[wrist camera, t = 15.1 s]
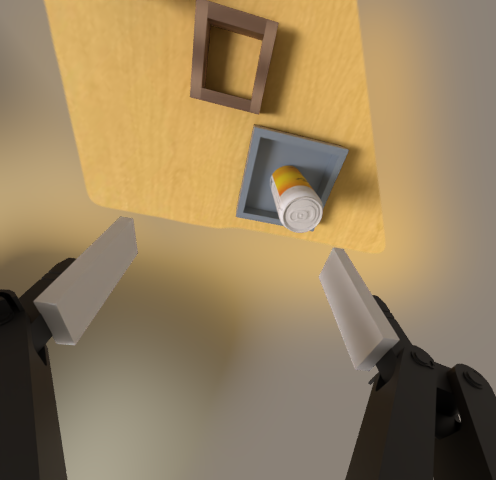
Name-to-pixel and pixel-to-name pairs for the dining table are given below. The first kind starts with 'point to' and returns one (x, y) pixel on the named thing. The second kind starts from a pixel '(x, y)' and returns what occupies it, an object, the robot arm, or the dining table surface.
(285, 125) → the dining table surface
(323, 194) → the tray
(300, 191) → the beer can
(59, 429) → the robot arm
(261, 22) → the collar holder
